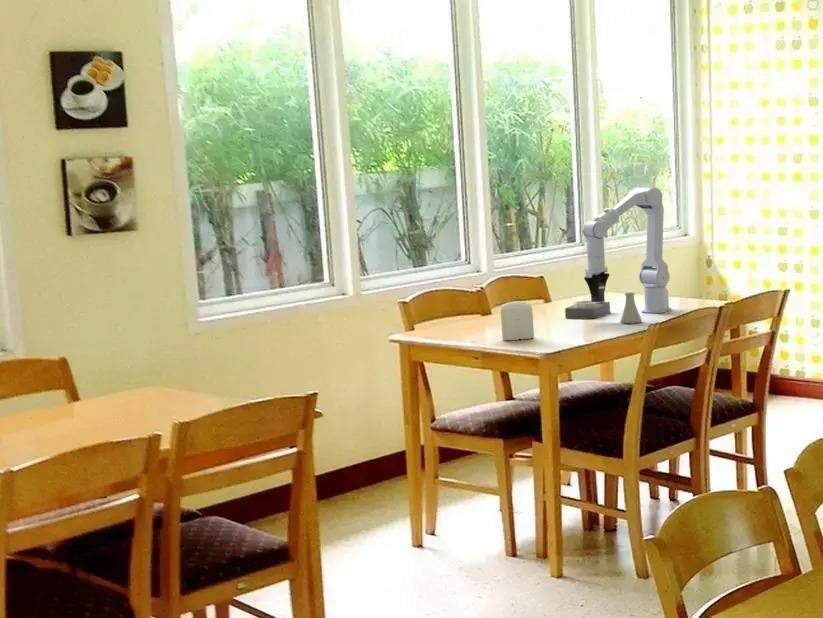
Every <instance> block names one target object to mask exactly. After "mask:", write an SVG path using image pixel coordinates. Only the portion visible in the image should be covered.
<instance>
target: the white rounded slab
mask: <svg viewBox="0 0 823 618" xmlns="http://www.w3.org/2000/svg"><path fill="white" fill-rule="evenodd" d="M533 314H534V313H533V306H532V305H531V302H527V301H521V300H516V301H509V302H505V303H503V304H501V308H500V321H501V322H500V323H501V335H502V337H501V339H502V341H503V340H510V341H519V339H521V340H532V339H531V338H533V339H534V338H535V330H534V329H535V328H534V315H533Z"/></svg>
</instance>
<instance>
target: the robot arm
mask: <svg viewBox="0 0 823 618" xmlns="http://www.w3.org/2000/svg"><path fill="white" fill-rule="evenodd" d="M634 206H636V207H637V208H639V209H641V210H643V211H644V213H646V214H647V219H646V220H647V226H646V228H647V229H646V254H645V255H646V258H645V259H644V260H643V262H642V263H641V265H640V266H641V267H640V271H639V274H638V278H639V283H641V284H642V287H644V288H643V289H644V309H643V310H641V311H640V313H646V314H647V313H648V314H649V313H650V314H651V313H652V314H656V313H657V314H663V313H665V312H668V311H669V310H672V307H670V306H669V305H670V304H669V303H670V300H669V299H670V298H669V290H668V288H667V285H668V283H669V281H670V273H669V268H668V267H669V265H668V264H667V263H666V262H665V261H664V259H663V244H664V242H663V241H664V239H663V238H664V216H665V214H664V211H665V209H664V205H663V192H661V191H660V189H658V188H657V187H656V186H653V187H639V186H635V187H632V189H630V190H629V191H628V193H627V195H626V196H625V197H623V199H622V200H620V201H619V202H618V203H617V204H616V205H615V206H614V207H608V208H604V209H603V210H602V213H600V214H599V215H598V216H595V217H594V219H593V220H589V221H587V222H585V224H584V226H583V228H582V230H581V231H582V235H583V237H584V239H585V243H586V252H587V253H586V254H587V255H586V256H587V268H585V269H584V271H585V276H584V281H585V282H586V285H587V287H588V289H589V292H590V297H591V296H592V297H598V295H599V284H600V283H604V293H605V290H606V286H607V282H608V279H609V277H610V273H608V271H609V270H608V269H609V268H608V266H606V261H605V260H606V258H605V242H604V241H605V239H604V237H606V236H607V233H608V231H609V230H610V228H612V227H613V226H614V225H616V224H617V223H618V222H619V220H620V217H621V216H622V215H623V214H624V213H626V212H627V211H629V210H630V209H631V208H633V207H634Z"/></svg>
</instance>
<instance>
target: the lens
mask: <svg viewBox="0 0 823 618" xmlns="http://www.w3.org/2000/svg"><path fill="white" fill-rule="evenodd" d="M605 300H606V299H605V292H604V283H600V284H599V295H598V297H592V296H591V295H590V301H591V302H603V301H605ZM605 302H606V301H605Z"/></svg>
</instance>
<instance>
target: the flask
mask: <svg viewBox="0 0 823 618" xmlns="http://www.w3.org/2000/svg"><path fill="white" fill-rule="evenodd" d="M624 295H625V305H624V308H623V311H622V312H623V313H622V315H621V318H620V322H619V323H621V324H628V325H629V324H630V325H631V324H638V323H641V322H642V317H641V316H640V312H639V311H638V308H637V306H636V302H635V292H625V293H624Z"/></svg>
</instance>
